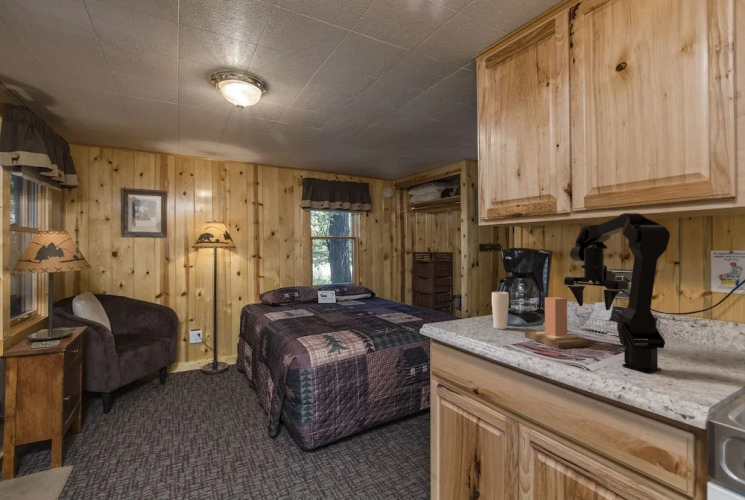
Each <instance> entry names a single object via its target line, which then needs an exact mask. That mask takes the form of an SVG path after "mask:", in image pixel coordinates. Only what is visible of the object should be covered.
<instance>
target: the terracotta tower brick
mask: <svg viewBox="0 0 745 500" xmlns="http://www.w3.org/2000/svg"><path fill="white" fill-rule="evenodd" d="M544 322H545V326H544V330H545V333H546V334H550V335H553V336H566V335H567V334H568V299H567V298H564V297H558V296H554V297H553V296H549V297H546V296H545V297H544Z"/></svg>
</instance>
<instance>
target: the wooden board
mask: <svg viewBox="0 0 745 500" xmlns="http://www.w3.org/2000/svg"><path fill="white" fill-rule="evenodd" d="M524 338H527V339H530V340H532V341H536V342H537V343H541V344H545V345H546V346H550V347H552V348H556V349H568V348H579V347H589V346H590V339H588V338H585V337H580V336H578V335H573V334H570V333H567V335H566V336H553V335H550V334H546V333H545V329H544V330H533V331H531V330H530V331H525V332H524Z"/></svg>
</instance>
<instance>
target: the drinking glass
mask: <svg viewBox="0 0 745 500" xmlns="http://www.w3.org/2000/svg"><path fill="white" fill-rule="evenodd" d="M509 296H510V295H509V292H507V291H492V292H491V308H492V309H491V311H492V321H493V322H492V323H493V325H492V326H493V328H494V329H496V330H506V329H508V316H509V315H508V314H509V305H510V297H509Z"/></svg>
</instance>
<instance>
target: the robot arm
mask: <svg viewBox="0 0 745 500" xmlns="http://www.w3.org/2000/svg"><path fill="white" fill-rule="evenodd" d="M621 232H622V235H623V236H624V237H625V238H626V239H627V240H628V248H629V250H630V251H631V253H632V255H633V266H632V272H631V273H632V274H631V282H630V287H629V283H628V282H627V280H625V279H624V280H623V279H616V273H614V272H612V271H610V270H608V267H607V265H605V250H606V249H608V246H607V245H606V244H604V242H607V241H608V240H610V239H611V236H613V235H616V234H619V233H621ZM670 238H671V233H670V231H669V230H668V229H667V227H666V226H664V225H662V224H661V223H660V222H657V221H656V220H655V221H654V220H652V219H650V218H647V217H646V216H644V214H641V213H639V212H624V213H621V214H619V216H615V217H613V218H612V219H609V220H607V221H604V222H602V223H599V224H591V225H590V224H588V225H583V226H582V228H581V229H580V231H579V234H578V235H577V237H576V239H575V246H573V247H571V249H570V252H569V256H570V258H571V260H573V261H574V262H581V263H583V264H581V269H583V276H565V278H564V279H563V285H564V286H566V287H567V288H569V289H570V290H569V291H571V292H572V295H573V296H574V298H575V300H576V302H577V304H578V305H579V306H580V307H583V306H584V289H585V288H586V286H597V287H604V288H606V289H603V296H604V297H603V298H604V307H605V310H606V311H610V309H611V307H612V305H613V303H614V300H615V298H616V296H617V295H618V294H619V293H621V292H622V293H623V291H624V290H628V289H629V288H630V289H629V296H628V297H629V298H628V305H627V307H626V308H625V309H619V311H618V313H617V320H616V324H617V325H616V330H617V334H618V338H619V343H620V344H621V345H622V346H623V347H624V351H623V352H624V358H623V359H624V360H623V361H624V363H622V367H624V368H628V369H632V370H636V371H639V372H642V373H645V374H650V373H655V372H659V371H662V367H659V364H658V363H659V362H658V360H659V359H658V358H659V357H658V356H659V355H658V353H659V351H658V349H664V348H665V345H666V341H665V339H664V337H663V336H662V334H661V333H660V331H659V329H658V328H657V319H656V317H655V316H654V314H653V313H652V311H651V310H652V300H653V296H654V295H653V293H654V288H655V287H654V286H655V281H656V280H655V279H656V273H657V265H658V259H660V257H661V256H662V255H663V254H664V253H665V252H666V251H667V248H668V245H669V243H670Z"/></svg>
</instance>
